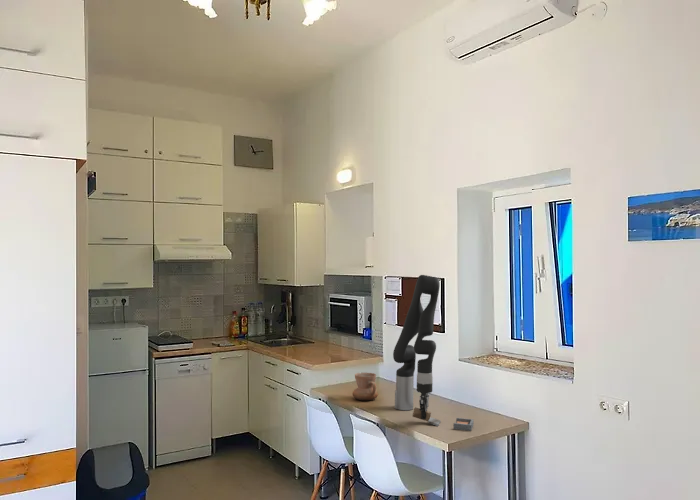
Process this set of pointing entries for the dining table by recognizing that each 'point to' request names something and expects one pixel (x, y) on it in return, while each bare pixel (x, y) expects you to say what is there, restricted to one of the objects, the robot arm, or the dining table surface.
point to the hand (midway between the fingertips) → (424, 418)
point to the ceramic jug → (365, 386)
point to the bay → (464, 426)
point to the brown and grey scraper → (430, 420)
